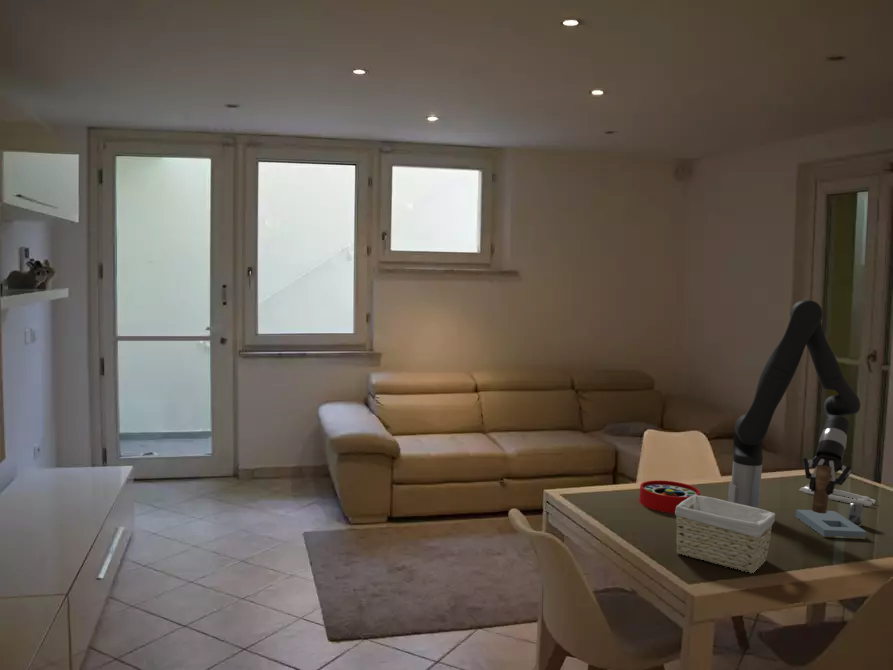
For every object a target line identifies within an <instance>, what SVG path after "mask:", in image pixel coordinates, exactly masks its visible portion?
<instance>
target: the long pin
mask: <svg viewBox="0 0 893 670" xmlns="http://www.w3.org/2000/svg"><path fill="white" fill-rule="evenodd" d="M831 469H832V467H830V466H827V465H817V470H816V479H815V488H814V495H813V498H812V499H813V500H812V507H811V508H812V509H811V510H812V511H814V512H817V513H827V511H828V502H829V499H828V494H827V490H828V486H829V482H830V481H831Z"/></svg>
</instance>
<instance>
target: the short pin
mask: <svg viewBox="0 0 893 670" xmlns="http://www.w3.org/2000/svg"><path fill="white" fill-rule="evenodd" d="M848 505H849V506H848V517H847V519H848V520H849V521H851V522H852V523H854V524H855V525H860V524H863V512H864V506H863V504H862V503H858V502H850V504H848Z"/></svg>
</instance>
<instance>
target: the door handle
mask: <svg viewBox="0 0 893 670" xmlns="http://www.w3.org/2000/svg"><path fill="white" fill-rule="evenodd" d="M798 490H799V492H802V493H805V494H807V495H811V496H814V492H812V491H811V489H810V488H809V484H807V485H806V484H805V486H802V487H800V488H799V489H798ZM844 496H845V497H844ZM848 497H849V498H848ZM852 498H853V499H852ZM856 499H857V500H856ZM828 500H830V501H833V502H838V501H840V502H839V503H843V502H845V503H844V504H848V503H850V502H858V503H862V504H863V505H864V506H863V507H865V506H868V507H870V506H872V505H874V504H875V503H876V500H875V499H873V498H870V497H869V496H866V495H861V494H856V493H853V492H849V491H846V490H845V491H844V490H840V489H836V488H834V492H833V493H832V494H830V495H828ZM872 503H873V504H872Z"/></svg>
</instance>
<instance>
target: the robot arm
mask: <svg viewBox="0 0 893 670" xmlns="http://www.w3.org/2000/svg"><path fill="white" fill-rule="evenodd" d="M789 316H790V319H789V322H788V325H787V327H786V329H785V333H784V334H783V337H782V338H781V340H780V341H779V342H778V344H777V345H776V346H775V348H774V349H773V351H772V352H771V354H770V356H769V357H768V359H767V361H766V363H765V365H764V367H763V369H762V371H761V374H760V376H759V379H758V383H757V385H756V390H755V391H756V392H755V395H754V397H753V400H752V403H751V405H750V407H749V408H748V410H747V412H746V413H745V414H742V415H740V417H738V418H737V419H736V421H735V423H734V428H733V429H734V430H733V444H732V445H733V446H732V454H733V458H732V468H731V470H732V472H731V481H729V483H728V494H727V501H728V502H733V503H737V504H742V505H746V506H750V507H755V508H759V509H760V496H761V495H760V494H761V484H762V473H763V472H762V471H763V458H764V456H763V442H764V441H763V440H764V439H765V438H766V436H767V433H768V430H769V427H770V424H771V421H772V418H773V416H774V414H775V411H776V409H777V407H778V405H779V404H780V402H781V400H782V399H783V397H784V395H785V393H786V391H787V390H788V388H789V386H790V384H791V382H792V380H793V378H794V376H795V374H796V372H797V369H798V368H799V367H798V366H799V364H800V362H801V359H802V356H803V354H804V352H805V349H806V347H807V349H808V352H809V355H810V358H811V361H812V364H813V366H814V370H815V373H816V375H817V377H818V379H819V382H820V384H821V386H822V388H823V389H824V390H827V391H828V390H829V391H830V390H831V391H832V390H833V391H835V392H836V393H837V394H836V395H835V394H834V395H830V396H828V397H827V398H826V399H825V400H824V402H823V411H824V426H823V428H822V432H821V435H820V437H819V441H818V445H817V449H816V452H815V456H814V457H813V458H812V459H808V458H805V457H804V458H803V461H802V462H803V468H804V474H805V478H806V479H807V480H809V484H808V485H809V488H810V489H811V491H812V492H814V488H815V479H816V470H817V465H827V466H830V467H832V469H831V477H830V482H829V486H828V490H827V494H828V495H830V494H831V495H833V494H832V493H833V492H834V489H835V487H836V486H837V485H839V486H842V485H843V484H845V482H846V480H847V479H848V478H849V476H850V475H851V474H852V467H851V466H850V465H849V466H848V465H847V466H846V465H844V464H843V461H844V460H843V459H844V455H845V451H846V449H847V438H848V435H849V434H848V433H849V431H850V422H849V420H848V418H846V416H851V415H855V414H857V413H858V412H860V409H861V400H860V399H859V396H858V394H856V392H855V391H854V390H853V388H852V387H851V386H850V385H849V383H848V381H847V380H846V378H845V376H844V375H843V372H842V369H841V367H840V364H839V363H838V360H837V357H836V356H835V354H834V352H833V350H832V348H831V346H830V344H829V343H828V340H827V337H826V336H825V335H826V334H825V333H824V329H823V326H822V322H821V321H822V319H823V316H824V314H823V309H822V307H821V305H820V304H819V303H817V302H816V301H814V300H811V299H803V300H799V301H797V302H795V304H793V305H792V307H791V309H790V313H789ZM812 465H814V470H813V472H810V467H812ZM839 471H842V472H841V473H840V475H839V477H838V478H836V473H838V472H839Z"/></svg>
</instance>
